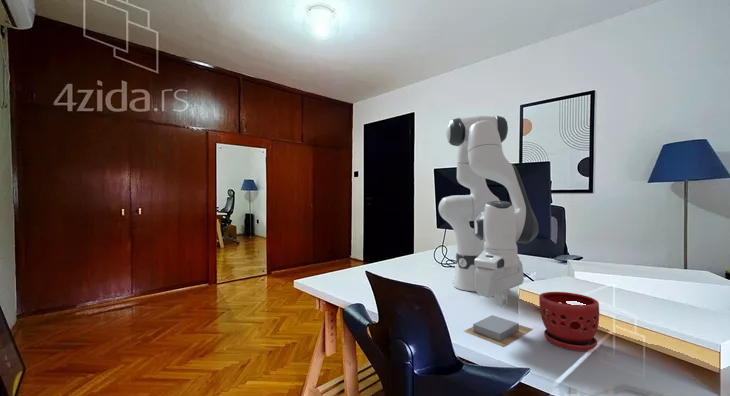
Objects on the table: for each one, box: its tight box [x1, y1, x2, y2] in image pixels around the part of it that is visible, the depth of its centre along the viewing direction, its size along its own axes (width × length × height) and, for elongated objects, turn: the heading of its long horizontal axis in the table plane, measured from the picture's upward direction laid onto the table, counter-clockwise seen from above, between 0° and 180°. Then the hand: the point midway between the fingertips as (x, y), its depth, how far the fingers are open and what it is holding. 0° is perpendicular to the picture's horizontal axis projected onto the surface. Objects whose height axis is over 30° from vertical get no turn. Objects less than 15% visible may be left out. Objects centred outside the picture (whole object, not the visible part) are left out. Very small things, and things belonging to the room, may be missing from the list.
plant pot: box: [538, 291, 600, 352], centre depth 81 cm, size 13×13×12 cm
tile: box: [472, 315, 520, 341], centre depth 88 cm, size 2×8×10 cm
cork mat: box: [463, 324, 534, 348], centre depth 88 cm, size 16×12×1 cm
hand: (501, 305), depth 90 cm, fingers closed
